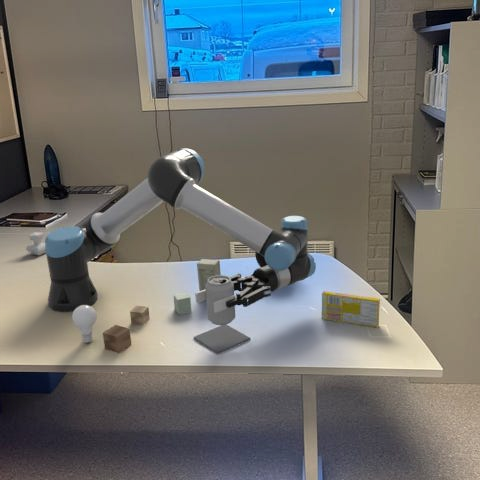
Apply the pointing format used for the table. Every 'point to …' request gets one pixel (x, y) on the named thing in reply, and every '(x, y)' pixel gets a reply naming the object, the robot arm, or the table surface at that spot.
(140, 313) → the oak block
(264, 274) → the robot arm
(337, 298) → the candy box
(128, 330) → the walnut block
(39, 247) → the stamp
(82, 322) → the lightbulb
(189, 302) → the sage block
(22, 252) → the table surface
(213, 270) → the skincare box
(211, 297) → the can
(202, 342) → the coaster
